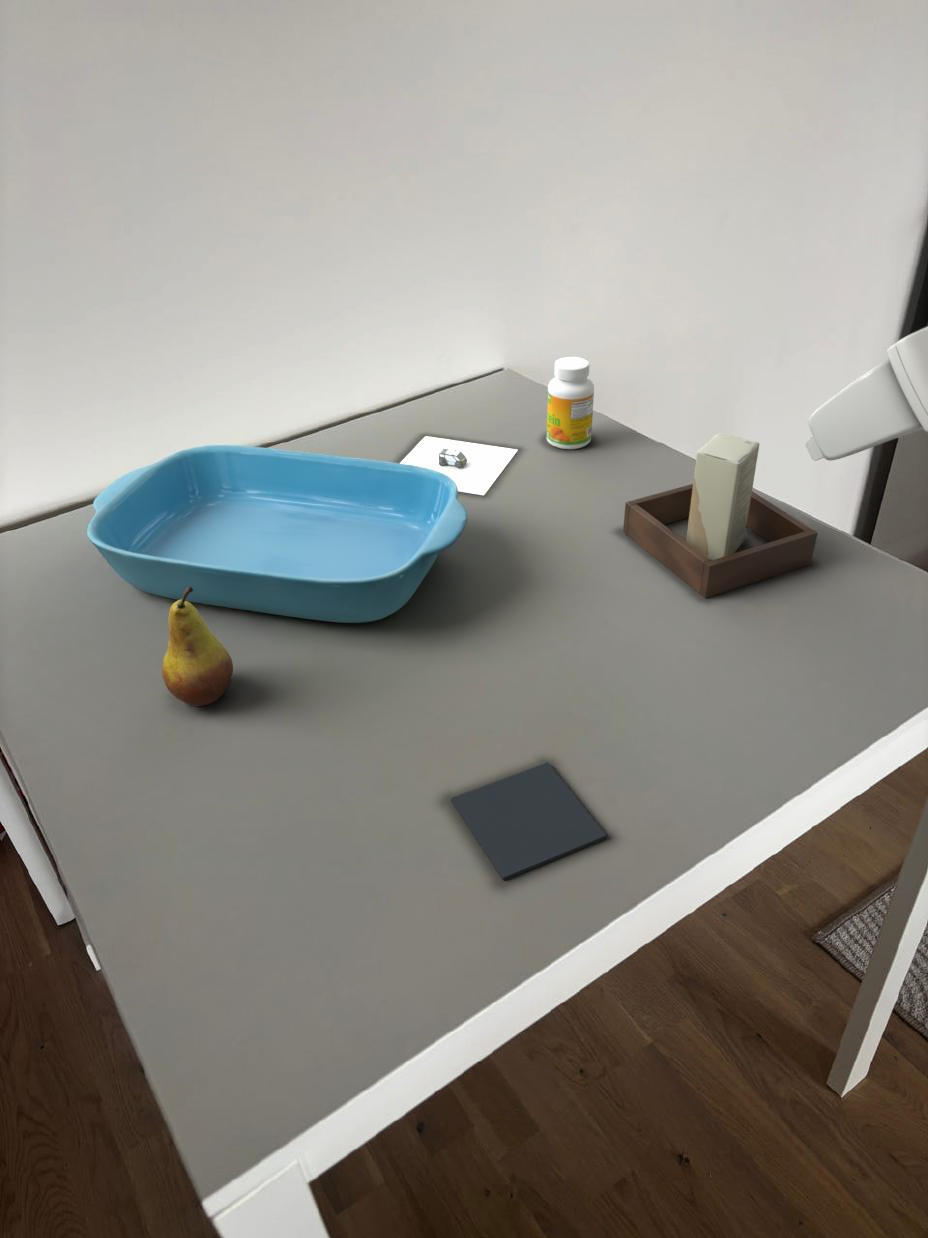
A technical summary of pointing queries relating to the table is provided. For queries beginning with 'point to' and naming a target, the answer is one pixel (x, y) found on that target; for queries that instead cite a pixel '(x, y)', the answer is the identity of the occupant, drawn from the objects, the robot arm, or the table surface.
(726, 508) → the box
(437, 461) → the white card
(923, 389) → the robot arm
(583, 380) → the supplement bottle
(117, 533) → the casserole dish
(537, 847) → the mat
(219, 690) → the fruit
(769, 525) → the crate
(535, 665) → the table surface
